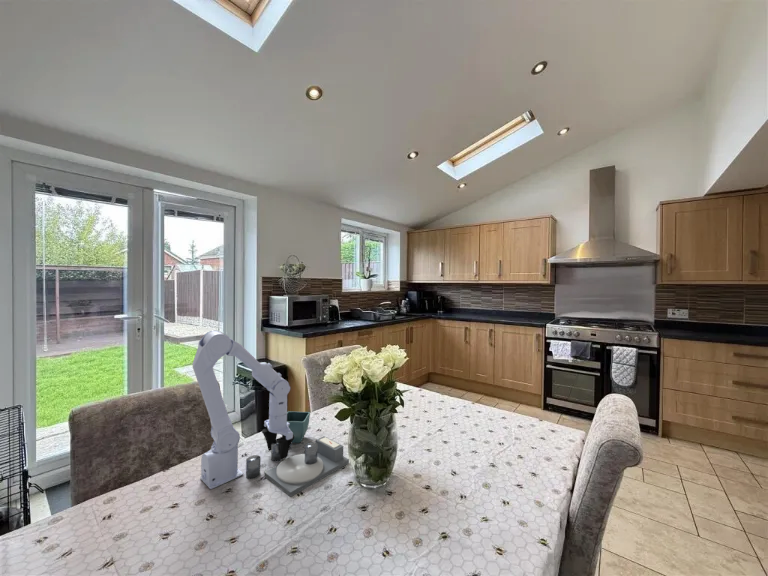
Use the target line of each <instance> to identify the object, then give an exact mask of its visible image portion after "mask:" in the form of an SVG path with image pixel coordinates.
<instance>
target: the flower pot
mask: <svg viewBox="0 0 768 576" xmlns="http://www.w3.org/2000/svg"><path fill="white" fill-rule="evenodd" d="M310 418H311V412H309V411H292V410H291V411H289V410H288V411H287V422H288V423H290V425H289V426H288V427H289V429H290V430H291V431H292V432H293V435H294V439H293V441H292V443H291V444H299V443H301V442H302V441H303V439H304V437H305V435H306V433H307V430H308V427H309V424H310Z"/></svg>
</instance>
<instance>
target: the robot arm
mask: <svg viewBox="0 0 768 576" xmlns="http://www.w3.org/2000/svg"><path fill="white" fill-rule="evenodd" d="M224 356H228V357H236V358H237V359H238V360H239V361H240V362H242V364H244V365H245V366H246V367H247V368H249V369H250V370H251V376H252V378H254V379H255V380H256V381H257V382H258V383H259V384H261V385H262V386H263V387H264V388H266V390H267V391H268V392H269V398H268V399H269V400H268V402H269V403H268V407H269V409H268V419H266V420H264V421H263V423H264V424H263V426H264V427H265V428H263V429H262V430H261V433H262V434H263V437H264V439H265V443H266V446H267V449H268V452H270V451H271V444H272V442H274V441H277V443H278V445H279V450H280V458H281V459H282V460H285V459H287V458H288V456H289V450H290V447H291V445H292V444H293V443H292V441H293V439H294V435H293V432H292V431H291V430H290V429H289V427H288V426H289V425H290V423H288V422H287V412H288V394H289V393H290V391H291V386H290V383H289V382H288V380H286V379H284V378H283V377H282V374H281V373H280V372H277V370H274V368H273V365H272V364H271V363H270V362H268V363H267V362H265V361H264V362H262V361H261V362H260V361H258V360H257V359H256V358H255V357H254V356H253V355H252V354H251V353H250V352H249V351H248V350H247V349H246V348H245V347H244V346H243V345H242V344H240V343H239V342H237V341H236V340H234V339H232V338H231V337H230V336H228V335H227V334H224V333H223V332H221V331H220V330H216V329H212V330H209V331H207V332H206V333H205V334H204V335H203V336H202V337H201V339H200V340H199V341H198V346H197V349H196V352H195V354H194V358H193V361H192V369H193V372H194V375H195V378H196V381H197V384H198V387H199V390H200V393H201V396H202V400H203V402H204V405H205V408H206V411H207V413H208V417H209V419H210V426H211V428H210V436H211V438H212V439H213V442H212V445H211V447H210V449H209V450H207V451H206V452H204V453H202V455H201V463H200V464H201V465H200V467H201V468H200V469H201V470H200V474H201V475H200V478H199V479H200V480H201V481H202V482H203V483H204V485H206V486H207V487H208V488H209V489H210V490H213V489H215V488H217V487H219V486H222V485H224V484H226V483H228V482H231V481H233V480H235V479H237V478H239V477H241V476H244V473H243V471H242V470H241V469H239V467H238V465H239V464H238V463H239V461H238V460H239V459H238V458H239V442H240V438H241V437H240V436H241V435H240V433H239V431H238V430H237V429H236V428H235V427H234V424H233V423H232V421H231V419H230V417H229V414H228V413H229V412H228V411H227V408H226V405H225V402H224V398H223V396H222V393H221V389H220V386H219V383H218V380H217V377H216V373H215V370H214V366H215V365H216V364H217V363H218V361H219V360H220V359H221V358H223V357H224ZM278 435H281V436H280V437H278ZM277 437H278V438H277Z"/></svg>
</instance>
